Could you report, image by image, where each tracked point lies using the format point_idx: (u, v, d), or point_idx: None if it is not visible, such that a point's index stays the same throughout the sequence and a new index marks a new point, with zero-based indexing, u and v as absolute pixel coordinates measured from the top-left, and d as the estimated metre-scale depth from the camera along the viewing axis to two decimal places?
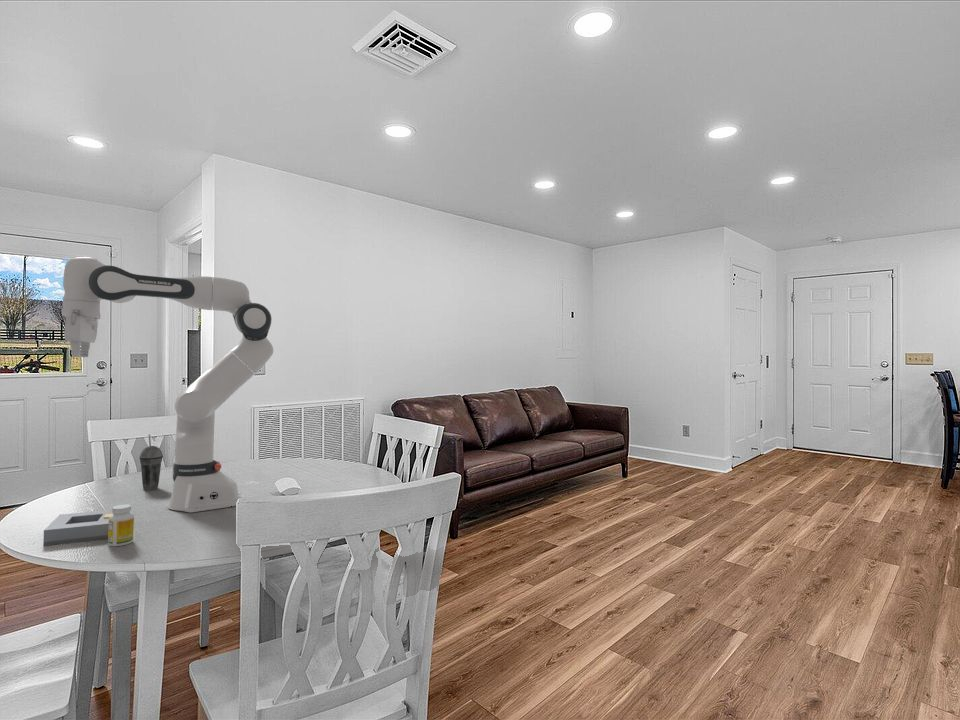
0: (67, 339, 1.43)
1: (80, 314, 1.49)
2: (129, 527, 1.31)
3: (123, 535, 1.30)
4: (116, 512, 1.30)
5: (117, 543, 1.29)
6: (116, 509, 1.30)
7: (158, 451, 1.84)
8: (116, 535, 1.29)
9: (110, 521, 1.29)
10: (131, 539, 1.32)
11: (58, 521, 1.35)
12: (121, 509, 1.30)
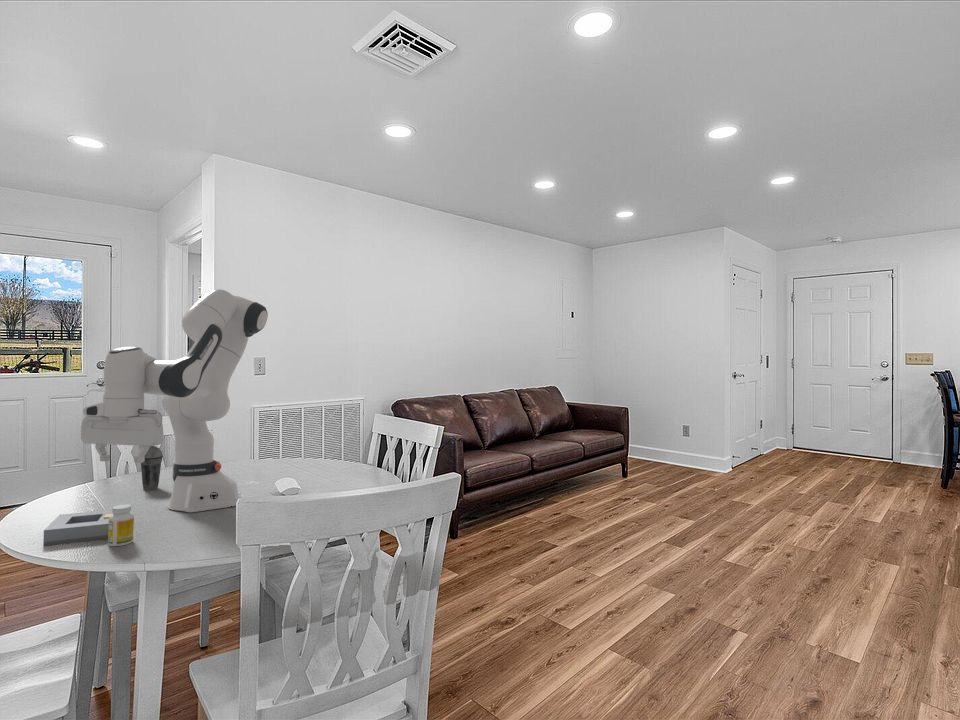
0: (155, 444, 1.30)
1: None
2: (129, 527, 1.31)
3: (123, 535, 1.30)
4: (116, 512, 1.30)
5: (117, 543, 1.29)
6: (116, 509, 1.30)
7: (158, 451, 1.84)
8: (116, 535, 1.29)
9: (110, 521, 1.29)
10: (131, 539, 1.32)
11: (58, 521, 1.35)
12: (121, 509, 1.30)
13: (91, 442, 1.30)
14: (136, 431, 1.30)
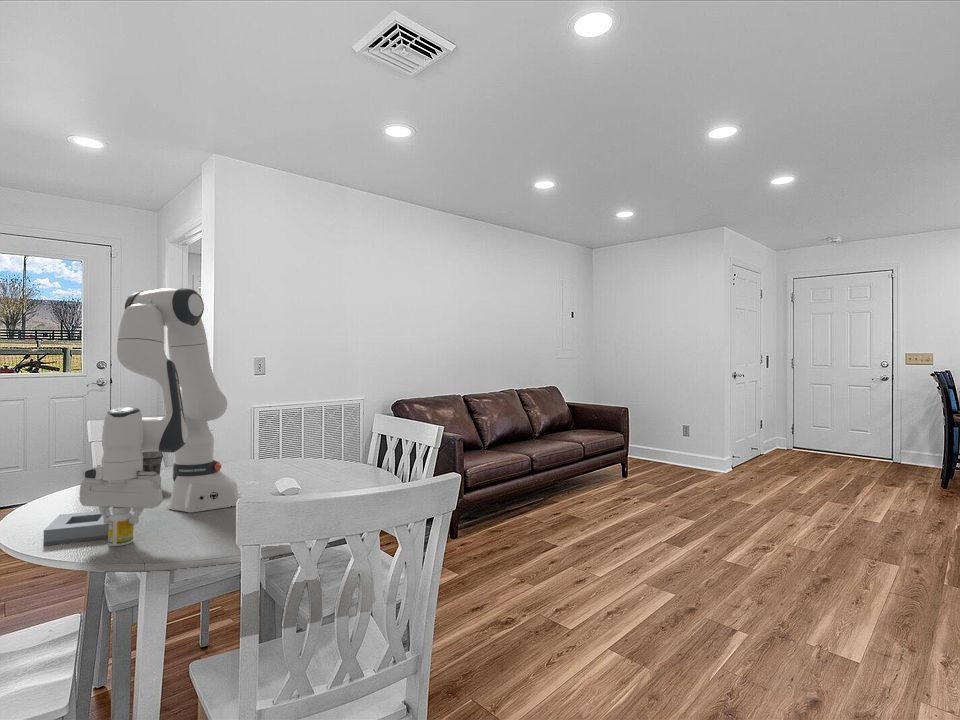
0: (154, 506, 1.30)
1: None
2: (129, 527, 1.31)
3: (123, 535, 1.30)
4: (116, 512, 1.30)
5: (117, 543, 1.29)
6: (116, 509, 1.30)
7: None
8: (116, 534, 1.29)
9: (110, 521, 1.29)
10: (131, 539, 1.32)
11: (58, 521, 1.35)
12: (121, 509, 1.30)
13: (90, 504, 1.30)
14: (135, 494, 1.30)
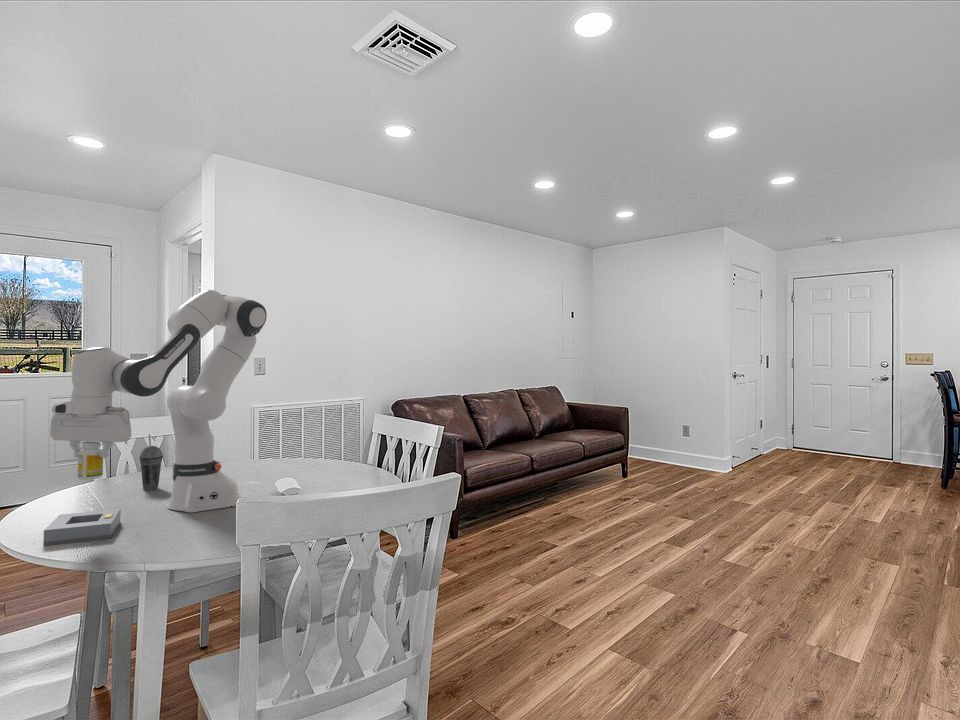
0: (123, 440, 1.36)
1: None
2: (99, 461, 1.37)
3: (92, 469, 1.35)
4: (85, 447, 1.35)
5: (87, 476, 1.35)
6: (86, 444, 1.35)
7: (158, 451, 1.84)
8: (86, 468, 1.35)
9: (80, 455, 1.35)
10: (101, 474, 1.37)
11: (58, 521, 1.35)
12: (90, 444, 1.35)
13: (60, 439, 1.36)
14: (104, 428, 1.35)
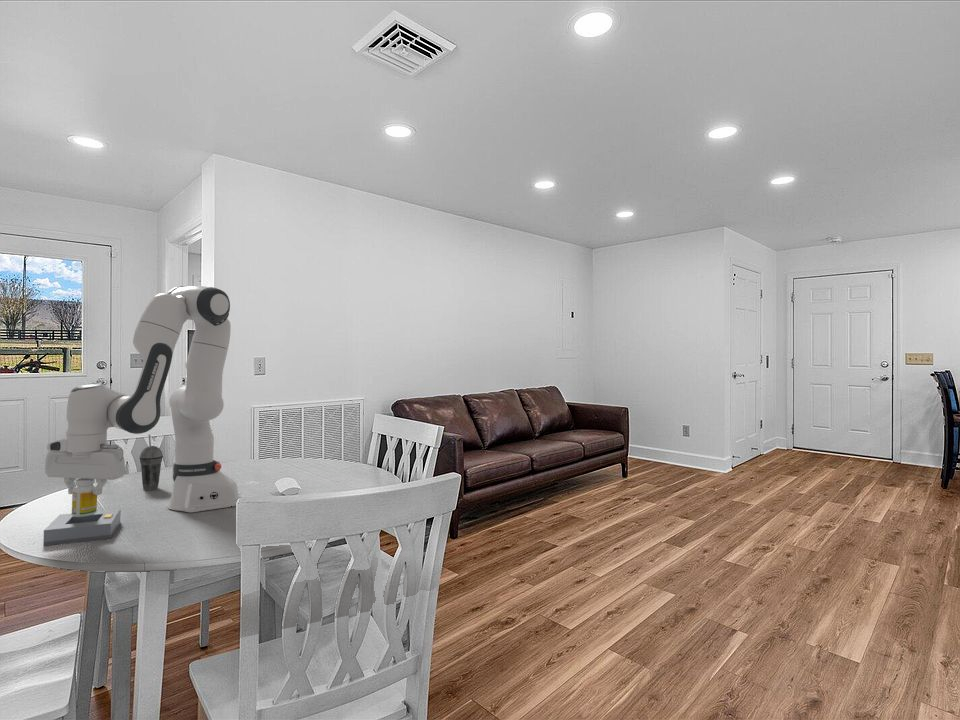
0: (116, 477, 1.36)
1: None
2: (92, 499, 1.37)
3: (86, 506, 1.36)
4: (79, 484, 1.36)
5: (80, 514, 1.35)
6: (79, 481, 1.36)
7: (158, 451, 1.84)
8: (79, 506, 1.35)
9: (74, 493, 1.35)
10: (94, 510, 1.38)
11: (58, 521, 1.35)
12: (84, 481, 1.36)
13: (55, 476, 1.36)
14: (98, 465, 1.36)
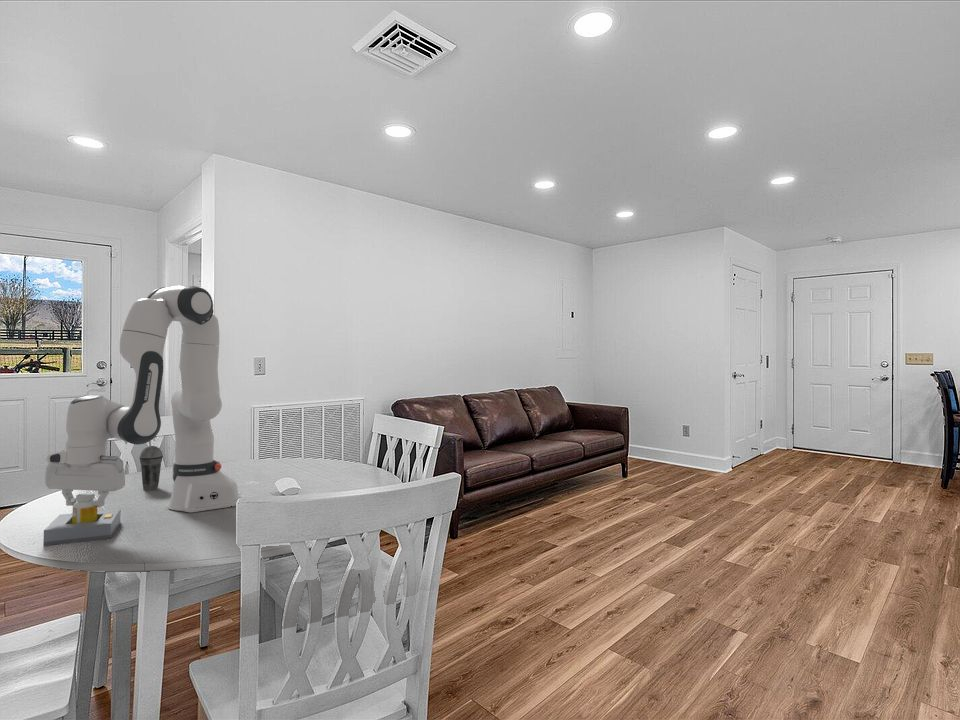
0: (116, 489, 1.36)
1: None
2: (93, 514, 1.37)
3: (86, 521, 1.36)
4: (79, 499, 1.36)
5: None
6: (79, 497, 1.36)
7: (158, 451, 1.84)
8: (80, 521, 1.35)
9: (74, 508, 1.36)
10: None
11: (58, 521, 1.35)
12: (84, 497, 1.36)
13: (55, 487, 1.37)
14: (98, 477, 1.36)
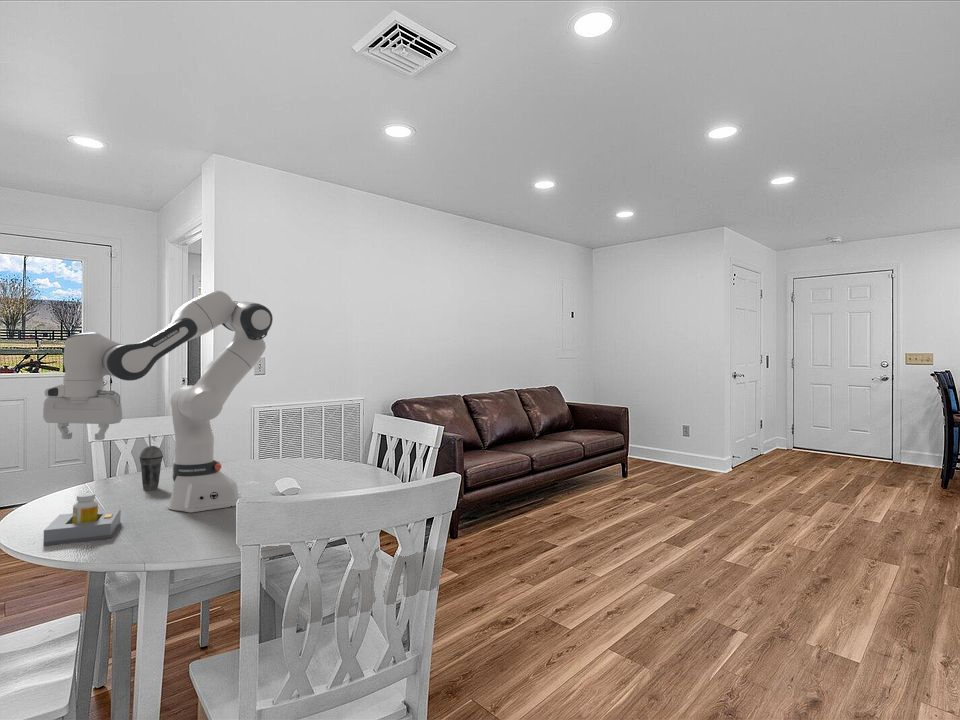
0: (114, 422, 1.40)
1: None
2: (93, 514, 1.37)
3: None
4: (80, 500, 1.36)
5: None
6: (80, 497, 1.36)
7: (158, 451, 1.84)
8: (80, 521, 1.35)
9: (74, 508, 1.35)
10: None
11: (58, 521, 1.35)
12: (85, 497, 1.36)
13: (53, 421, 1.40)
14: (96, 410, 1.40)
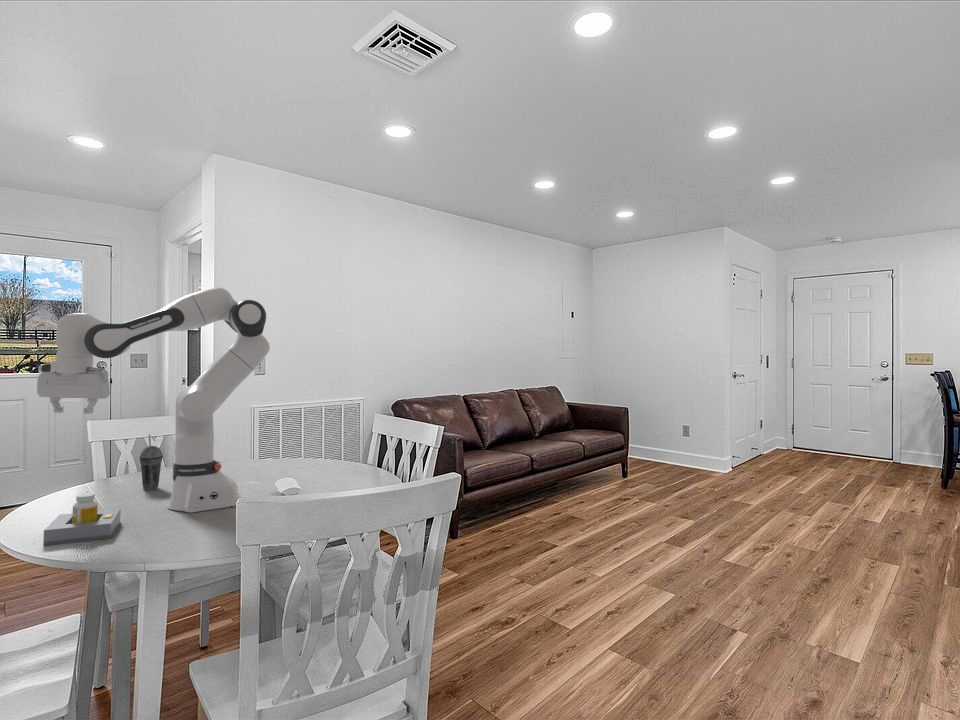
0: (101, 397, 1.50)
1: None
2: (93, 514, 1.37)
3: None
4: (80, 500, 1.36)
5: None
6: (80, 497, 1.36)
7: (158, 451, 1.84)
8: (80, 521, 1.35)
9: (74, 508, 1.35)
10: None
11: (58, 521, 1.35)
12: (85, 497, 1.36)
13: (46, 396, 1.50)
14: (85, 386, 1.50)
